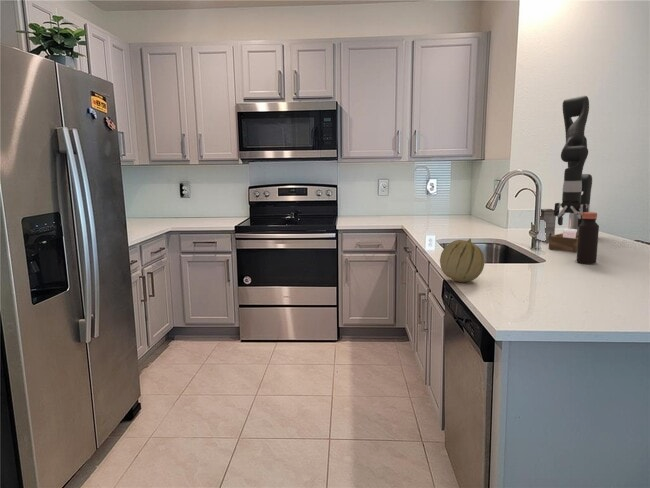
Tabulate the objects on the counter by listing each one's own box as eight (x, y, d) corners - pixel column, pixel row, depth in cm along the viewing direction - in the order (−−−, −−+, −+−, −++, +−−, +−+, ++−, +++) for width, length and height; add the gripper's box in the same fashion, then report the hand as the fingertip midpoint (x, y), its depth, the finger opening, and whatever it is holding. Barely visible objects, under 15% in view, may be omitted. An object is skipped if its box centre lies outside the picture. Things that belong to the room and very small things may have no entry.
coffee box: (536, 238, 230) (538, 208, 227) (549, 238, 229) (551, 208, 226) (541, 241, 221) (543, 210, 219) (554, 241, 220) (556, 210, 217)
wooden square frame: (561, 245, 210) (562, 233, 209) (588, 248, 200) (588, 235, 199) (548, 248, 203) (549, 236, 202) (575, 252, 193) (575, 238, 192)
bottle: (579, 260, 177) (582, 211, 174) (598, 262, 173) (602, 212, 169) (574, 263, 173) (577, 213, 169) (593, 265, 168) (597, 214, 164)
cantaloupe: (430, 280, 154) (431, 238, 151) (460, 274, 161) (461, 234, 158) (462, 289, 141) (463, 244, 138) (493, 282, 148) (494, 239, 145)
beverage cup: (559, 247, 205) (561, 218, 203) (574, 247, 203) (576, 218, 201) (562, 249, 199) (564, 219, 197) (577, 250, 198) (579, 219, 195)
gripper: (592, 190, 193) (590, 226, 196) (560, 189, 205) (558, 223, 207) (584, 191, 189) (582, 228, 192) (552, 190, 200) (550, 225, 203)
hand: (569, 226), depth 200 cm, fingers open, 8 cm apart
